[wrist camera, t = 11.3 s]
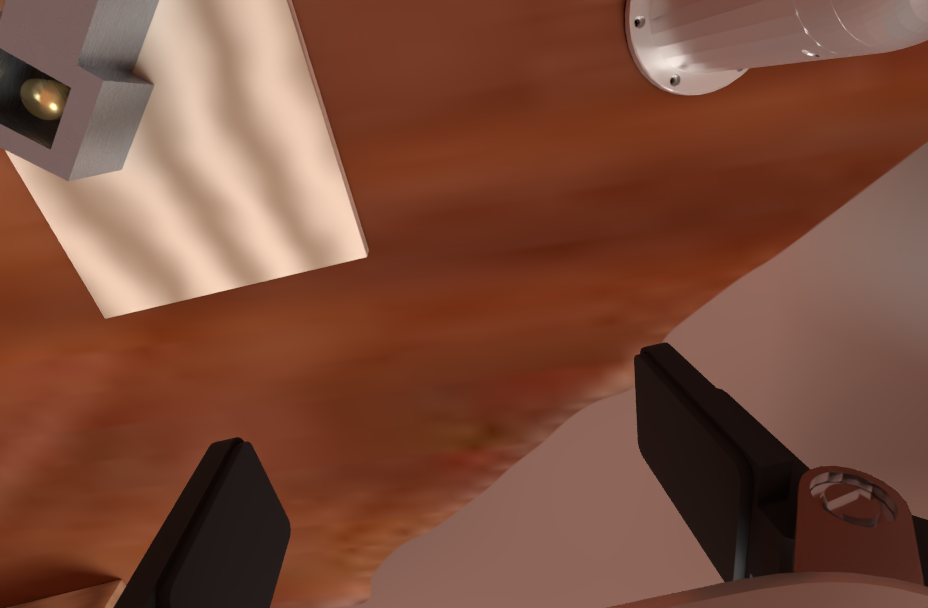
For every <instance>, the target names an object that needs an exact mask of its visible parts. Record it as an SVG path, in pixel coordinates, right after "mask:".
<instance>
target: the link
mask: <svg viewBox="0 0 928 608" xmlns="http://www.w3.org/2000/svg"><path fill="white" fill-rule="evenodd" d="M158 2H159V0H6V1H5V5H4V9H3V11H0V148H2V149H4V150H6V151H8V152H10V153H12V154H14V155H16V156H18V157H20V158H22V159H24V160H26V161H28V162H30V163H32V164H34V165H36V166H38V167H40V168H42V169H44V170H46V171H48V172H50V173H52V174H54V175H56V176H58V177H60V178H62V179H64V180H66V181H73V180H77V179H82V178H87V177H91V176H96V175H100V174H105V173H110V172H114V171H119V170H122V168H123V165H124V163H125V160H126V158H127V155H128V152H129V150H130V147H131V145H132V142H133V139H134V137H135V134H136V132H137V129H138V127H139V124H140V121H141V119H142V116H143V114H144V111H145V108H146V106H147V103H148V101H149V98H150V95H151V93H152V90H153V88H154V84H152V83H150V82H149V81H147V80H145V79H143V78H142V77H140V76H138V75H137V74H135V73H133V70H134V67H135V65H136V62H137V59H138V56H139V54H140V51H141V48H142V46H143V43H144V40H145V38H146V35H147V32H148V29H149V27H150V24H151V21H152V19H153V16H154V13H155V10H156V8H157V5H158ZM30 79H45V80H58V81H60V82H62V83H63V84H65V85H67V86H69V87H71V90H70V93H69V96H68V99H67V102H66V105H65V108H64V111H63V114H62V117H61V120H44V119H40V118H38V117H36V116H34V115H33V114H32V113H30V112H29V111H28V110H27V108H26V107H25V106H24V104H23V102H22V100H21V95H20V90H21V87H22V85H23V84H24V83H25V82H26V81H28V80H30Z"/></svg>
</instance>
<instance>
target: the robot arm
mask: <svg viewBox="0 0 928 608" xmlns="http://www.w3.org/2000/svg"><path fill="white" fill-rule="evenodd" d="M635 20H636V21H637V26H636V27H635V24H634V22H635ZM625 31H626V37H627V42H628V47H629V50H630V52H631V55H632V58H633V60H634V62H635V64H636V65H637V67H638V68H639V70H640V72H641V73H642V74H643V75H644V76H645V77H646V78H647V79H648V80H649V81H650V82H651V83H652V84H654V85H655V86H657V87H658V88H660V89H661V90H664V91H667V92H670V93H673V94H678V95H701V94H705V93H709V92H713V91H716V90H718V89H720V88H723V87H725V86H727V85H729V84H730V83H732V82H733V81H735V80H736V79H738V78H739V77H740V76H742V75H743V74H744V73H745V72H746V71H747V70H748V69H749V68H755V67H764V66H772V65H781V64H790V63H798V62H807V61H815V60H824V59H833V58H841V57H850V56H859V55H868V54H876V53H884V52H890V51H895V50H899V49H903V48H907V47H910V46H912V45H916V44H918V43H921V42H924V41H926V40H928V0H627V2H626V9H625ZM671 79H672V83H671V84H670V80H671ZM634 367H635V389H636V412H637V432H638V445H639V449H640V452H641V454H642V456H643V458H644V459H645V461H646V462H647V464H648V465H649V467H650V469H651V470H652V472H653V473H654V475H655V476H656V478H657V479H658V481H659V482H660V484H661V485H662V487H663V488H664V490H665V491H666V493H667V495H668V496H669V498H670V499H671V501H672V502H673V503H674V505H675V507H676V508H677V510H678V511H679V513H680V514H681V516H682V518H683V519H684V521H685V522H686V524H687V525H688V527H689V528H690V530H691V531H692V533H693V534H694V536H695V537H696V539H697V541H698V542H699V543H700V545H701V547H702V548H703V550H704V551H705V553H706V554H707V556H708V557H709V559H710V560H711V562H712V564H713V565H714V567H715V568H716V570H717V571H718V573H719V574H720V576H721V577H722V579H723V580H724V581H725V583H720V584H715V585H710V586H705V587H700V588H695V589H691V590H685V591H681V592H676V593H671V594H666V595H661V596H657V597H652V598H647V599H643V600H639V601H634V602H629V603H625V604H621V605H616V606H611V607H607V608H928V520H926V519H923V518H920V517H916V516H913V515H912V514H911V511H910V509H909V506H908V504H907V502H906V501H905V500H904V499H903V497H902V496H901V495H900V494H899V493H898V492H897V491H896V490H895V489H893V488H892V487H890V486H889V485H888V484H886V483H885V482H884V481H882V480H880V479H878V478H876V477H874V476H872V475H870V474H868V473H865V472H862V471H858V470H855V469H852V468H847V467H840V466H820V467H816V468H813V469H809V468H808V467H807V466H806V465H805V464H804V463H802V461H801V460H799V459H798V458H797V457H796V456H795V455H794V454H793V453H792V452H791V451H789V449H787V448H786V447H785V446H784V445H783V444H782V443H781V442H780V441H779V440H778V439H777V438H775V437H774V436H773V435H772V434H771V433H770V432H769V431H768V430H767V429H766V428H765V427H763V426H762V425H761V424H760V423H759V422H758V421H757V420H756V419H755V418H754V417H753V416H752V415H750V414H749V413H748V412H747V411H746V410H745V409H744V408H743V407H742V406H741V405H739V404H738V403H737V402H736V401H735V400H734V399H733V398H732V397H730V395H729V394H728V393H726V392H725V391H723V390H722V389H718V388H716V387H715V386H714V385H712V384H711V383H710V382H709V381H708V380H707V379H706V378H705V377H704V376H703V375H702V374H701V373H700V372H698V370H696V369H695V368H694V367H693V366H692V365H691V364H690V363H689V362H688V361H687V360H686V359H684V357H683V356H682V355H680V354H679V353H678V352H677V351H676V350H675V349H674V348H673V347H672V346H671V345H670V344H668V343H660V344H656V345H651V346H647V347H643V348H642V349H641V351H640V354H639V355H636V356H635V358H634ZM290 531H291V529H290V522H289V519H288V517H287V515H286V513H285V511H284V509H283V507H282V505H281V503H280V501H279V499H278V497H277V495H276V493H275V491H274V489H273V487H272V485H271V483H270V481H269V479H268V477H267V475H266V472H265V470H264V468H263V466H262V464H261V462H260V460H259V458H258V456H257V454H256V452H255V450H254V448H253V446H252V445H251V443H250V442H244V441H243V440H242V439H241V438H238V437H236V438H232V439H227V440H223V441H218V442H215V443H212V444H211V445H210V447H209V448H208V450H207V452H206V453H205V455H204V457H203V458H202V460H201V462H200V463H199V465H198V467H197V468H196V470H195V472H194V473H193V475H192V477H191V478H190V480H189V482H188V483H187V485H186V487H185V488H184V490H183V492H182V493H181V495H180V497H179V498H178V500H177V502H176V503H175V505H174V507H173V508H172V510H171V512H170V514H169V515H168V517H167V519H166V520H165V522H164V524H163V525H162V527H161V529H160V530H159V532H158V534H157V535H156V537H155V539H154V540H153V542H152V544H151V545H150V547H149V549H148V550H147V552H146V554H145V555H144V557H143V559H142V560H141V562H140V564H139V565H138V567H137V569H136V570H135V572H134V574H133V575H132V577H131V579H130V581H129V582H128V584H127V586H126V587H125V589H124V591H123V592H122V594H121V596H120V597H119V599H118V601H117V602H116V604H115V606H114V607H113V608H270V605H271V601H272V598H273V594H274V591H275V587H276V584H277V580H278V577H279V573H280V570H281V566H282V563H283V559H284V556H285V552H286V549H287V545H288V542H289V538H290Z"/></svg>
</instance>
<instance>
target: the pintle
mask: <svg viewBox="0 0 928 608" xmlns="http://www.w3.org/2000/svg"><path fill="white" fill-rule="evenodd" d="M70 90H71V87H69V86H67V85H65V84H63V83H62V82H60V81H58V80H45V79H30V80H28V81H26V82H25V83H24V84H23V85H22V87H21V90H20V95H21V100H22V102H23V104H24V106H25V107H26V108H27V110H28V111H29V112H30V113H32V114H33V115H34V116H36V117H38V118H40V119H44V120H61V117H62V114H63V111H64V108H65V105H66V102H67V99H68V96H69V93H70Z"/></svg>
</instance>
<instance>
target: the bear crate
mask: <svg viewBox="0 0 928 608" xmlns="http://www.w3.org/2000/svg"><path fill="white" fill-rule="evenodd" d="M125 587H126V584H125V583H124V582H123V580H122V579H121V580H117V581H113V582H109V583H105V584H101V585H97V586H93V587H89V588H85V589H81V590H77V591H72V592H68V593H64V594H60V595H56V596H52V597H48V598H44V599H40V600H36V601H32V602H28V603H24V604H19V605H15V606H11V607H7V608H113V607H114V606H115V604H116V602H117V601H118V599H119V597H120V596H121V594H122V592H123V591H124V589H125Z"/></svg>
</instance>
